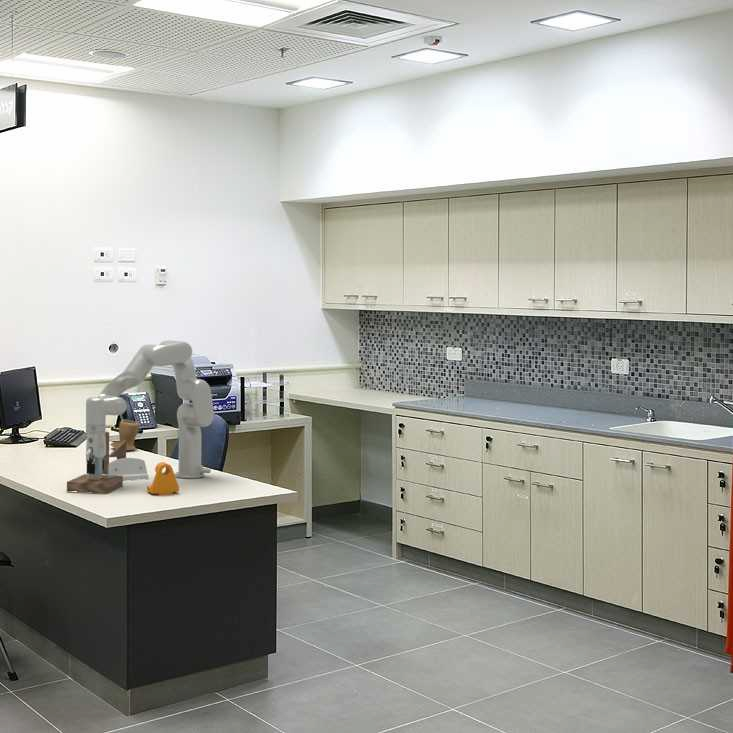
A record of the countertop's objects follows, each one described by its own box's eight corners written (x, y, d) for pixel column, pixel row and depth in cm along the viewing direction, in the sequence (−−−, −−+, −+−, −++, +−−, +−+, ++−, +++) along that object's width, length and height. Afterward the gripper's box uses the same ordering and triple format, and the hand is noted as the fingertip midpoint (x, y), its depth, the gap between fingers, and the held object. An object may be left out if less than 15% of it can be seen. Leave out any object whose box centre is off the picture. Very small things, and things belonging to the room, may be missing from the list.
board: (122, 485, 410) (122, 475, 410) (106, 493, 393) (106, 483, 392) (84, 483, 412) (84, 474, 412) (66, 492, 394) (66, 481, 394)
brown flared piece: (141, 451, 501) (142, 421, 500) (117, 452, 495) (118, 422, 494) (133, 447, 514) (133, 417, 513) (109, 448, 508) (109, 418, 507)
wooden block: (126, 473, 439) (126, 431, 438) (100, 474, 435) (100, 432, 434) (124, 471, 442) (125, 430, 441) (99, 472, 438) (99, 431, 437)
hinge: (109, 481, 418) (107, 457, 420) (107, 483, 422) (105, 460, 424) (149, 479, 426) (147, 455, 429) (146, 481, 430) (144, 458, 432)
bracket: (172, 490, 403) (172, 460, 403) (178, 493, 397) (179, 463, 396) (146, 492, 398) (146, 462, 397) (152, 495, 392) (152, 464, 391)
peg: (102, 488, 404) (102, 453, 403) (98, 490, 400) (99, 454, 399) (92, 487, 405) (92, 452, 404) (88, 489, 401) (88, 454, 400)
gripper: (96, 431, 392) (96, 475, 393) (112, 426, 409) (112, 468, 410) (78, 431, 393) (77, 475, 394) (94, 425, 410) (94, 467, 411)
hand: (95, 471), depth 402 cm, fingers open, 9 cm apart
